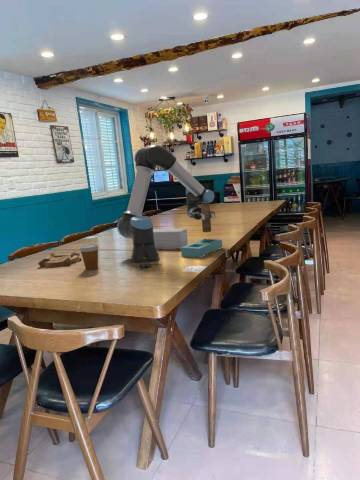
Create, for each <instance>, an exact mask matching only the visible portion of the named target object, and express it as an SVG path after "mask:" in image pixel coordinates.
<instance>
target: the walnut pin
mask: <svg viewBox="0 0 360 480" xmlns="http://www.w3.org/2000/svg"><path fill="white" fill-rule="evenodd" d="M210 204H211V202H208V203H202V202H201V203H200V208H201V214H204V216H205V220H203V219H201V226H202V232H203V233H210V232H212V221H211V219H212V218H210V211H211V207H210V206H211V205H210Z"/></svg>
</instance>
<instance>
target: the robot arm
mask: <svg viewBox="0 0 360 480" xmlns="http://www.w3.org/2000/svg"><path fill="white" fill-rule="evenodd" d="M134 162H135V166H134V167H135V170H136V175H135V177H134V182H133V185H132V189H131V193H130V198H129V202H128V205H127V210H126V211H124V212H123V215H122V217H121V218H120V219H119V220H118V222H117V227H116V228H117V232H118V234H119V235H120V236H121V237H123V238H126V239H132V253H131V256H130V257H131V259H130V260H131V262H133V263H141V262H142V259H143V246H142V245H144V250H145V255H146V258H147V261H148V262H149V263H150V262H154V261H156V260H158V259H160V255H159V252H158V248H156V247H155V244H154V233H153V229H154V223H153V219H152V218H151V216H146V215H143V214H142V213H143V210H144V205H145V202H146V197H147V194H148V189H149V186H150V182H151V178H152V175H153V174H155V172H156V169H157V167H158V168H161V169H162V170H163V171H165V172H168V173H169V174H170V175H171V176H173V178H175V179H176V180H177V181H178V182H179V183H180V184H181V185H182V186H184V187H185V196H186V197H185V199H186V210H185V213H186V216H188V217H189V218H192V219H194V220H196V221H197V220H198V221H199V220H202V219H203V220H205V216H204V214H201V206H200V207H199V205H200V204H199V203H201V204H202V203H213V201H214V199H215V194H214V193H215V192H214V191H213V190H211V189H207V188H205V187H204V186H203V184H201V183H200V182H199V181H198V180H197V179H196V178H195V177H194V176H193V175H192V174H191V173H190V172H189V171H188V170H187V169H186V168H184V167H183V165H182V164H180V162H178V161H177V157H176V156H175V155H174V154H173V153H172V152H171V151H169V150H168V149H166V148H165V147H163V146H161V145H160V144H159V145H158V144H153V145H150V146H144V147H141V148H139V149H138V150H137V151H136V152H135V154H134ZM215 217H216V214H215V211H211V210H210V218H211V219H214V220H215Z"/></svg>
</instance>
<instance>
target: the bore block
mask: <svg viewBox="0 0 360 480" xmlns="http://www.w3.org/2000/svg"><path fill="white" fill-rule="evenodd" d="M221 247H223V239H215V238H203V239H201V240H198V241H195V242H192V243H188V245H186V246H183V247H181V249H180V252H181V254H180V255H181V257H185V256H188V257H187V258H196V257H200V258H202V257H201V256H203V255H205V256H207V255H209V254H208V253H210V252H212V251H215V250H217V249H219V248H221ZM219 250H220V249H219ZM217 251H218V250H217ZM215 252H216V251H215ZM212 253H213V252H212ZM206 254H207V255H206ZM210 254H211V253H210ZM203 257H204V256H203Z"/></svg>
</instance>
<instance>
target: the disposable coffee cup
mask: <svg viewBox="0 0 360 480" xmlns="http://www.w3.org/2000/svg"><path fill="white" fill-rule="evenodd" d="M79 251H80V255H81V258H82V261H83V264H84V267H85V270H87V271H91V270H96V269H98V268H99V245H98V244H95V243H94V244H86V245H82V246H80V247H79Z"/></svg>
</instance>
